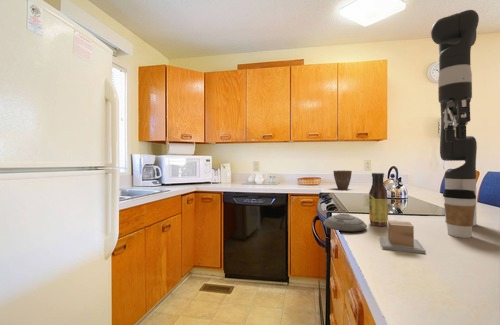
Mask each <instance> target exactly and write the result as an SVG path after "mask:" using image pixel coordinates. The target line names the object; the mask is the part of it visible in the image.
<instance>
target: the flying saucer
mask: <svg viewBox="0 0 500 325" xmlns="http://www.w3.org/2000/svg"><path fill="white" fill-rule="evenodd" d="M322 225H323V226H324V227H326V228H328V229H330V230H335V231H340V232H359V231H360V232H361V231H363V230H366V229H367V227H368V226H367V224H366V223H365V221H363V220H362V219H361V218H360V217H357V216H353V214H352V215H351V214H348V213H339V214H338V213H337V214H335V215H331V216H329V217H327V218H326V219H325V220H324V221H323V223H322Z"/></svg>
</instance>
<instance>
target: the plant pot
mask: <svg viewBox="0 0 500 325" xmlns="http://www.w3.org/2000/svg"><path fill="white" fill-rule="evenodd" d="M352 172H353V171H352V170H333V172H332V173H333V178H334V182H335V185H336V187H337V189H338V190H340V191H346V190H349V186H350V182H351V179H352Z"/></svg>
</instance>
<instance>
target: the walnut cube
mask: <svg viewBox="0 0 500 325" xmlns="http://www.w3.org/2000/svg"><path fill="white" fill-rule="evenodd" d="M387 227H388V228H387V232H388V233H387V234H388V235H387V237H388V239H389V241H390V243H391V244H394V245H404V246H414V239H415V237H414V232H415V231H414V230H415V228H414V225H413V224H412V222H410V221H405V220H404V221H402V220H390V219H388V221H387Z"/></svg>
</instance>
